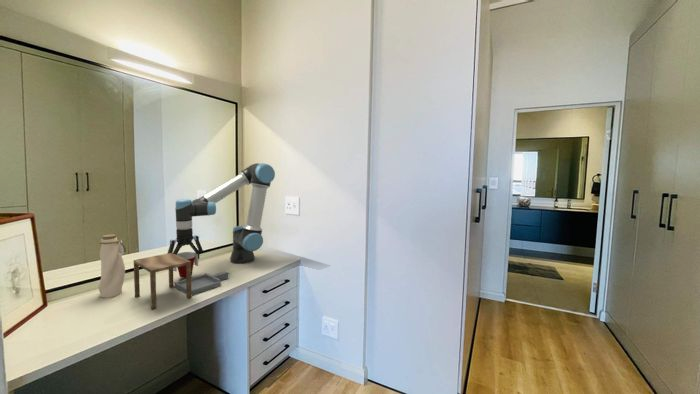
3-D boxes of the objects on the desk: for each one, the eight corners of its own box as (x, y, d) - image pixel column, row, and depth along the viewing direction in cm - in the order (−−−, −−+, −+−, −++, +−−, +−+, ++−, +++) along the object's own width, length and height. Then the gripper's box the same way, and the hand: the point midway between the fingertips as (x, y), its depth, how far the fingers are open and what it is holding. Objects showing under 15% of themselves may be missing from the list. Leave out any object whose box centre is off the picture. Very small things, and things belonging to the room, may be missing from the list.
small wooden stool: (172, 286, 146) (171, 252, 145) (191, 297, 135) (190, 261, 133) (134, 296, 133) (133, 260, 132) (152, 310, 122) (151, 270, 120)
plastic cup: (181, 281, 150) (180, 259, 149) (170, 276, 155) (169, 255, 154) (201, 274, 159) (200, 253, 158) (190, 270, 165) (189, 250, 163)
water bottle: (125, 287, 143) (123, 232, 140) (128, 293, 136) (126, 235, 134) (98, 293, 135) (95, 234, 133) (99, 299, 129) (97, 238, 126)
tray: (219, 274, 164) (219, 268, 164) (234, 281, 155) (234, 275, 155) (174, 286, 145) (174, 280, 145) (189, 295, 136) (189, 289, 136)
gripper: (202, 224, 166) (203, 261, 168) (157, 230, 147) (159, 272, 150) (209, 225, 162) (210, 263, 164) (163, 232, 143) (165, 275, 145)
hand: (185, 267), depth 157 cm, fingers closed on plastic cup, 10 cm apart
